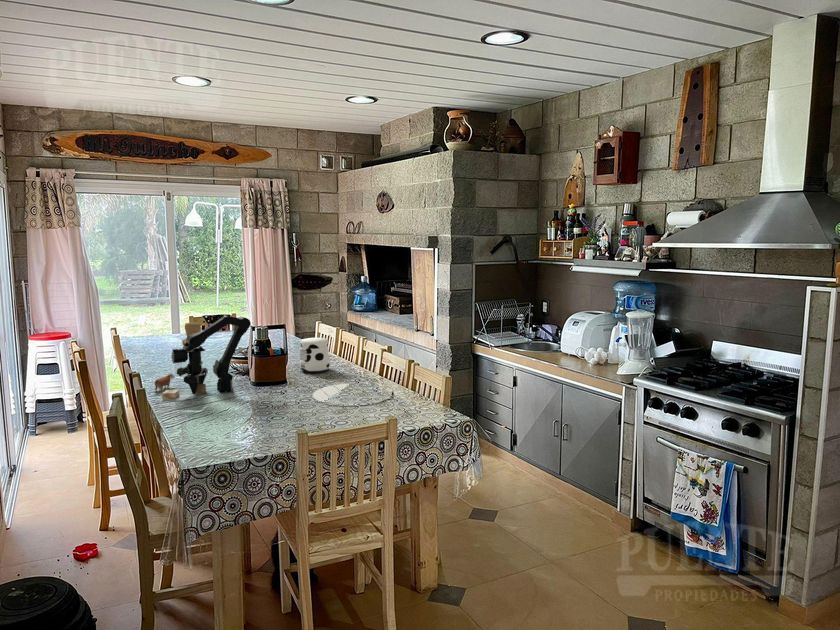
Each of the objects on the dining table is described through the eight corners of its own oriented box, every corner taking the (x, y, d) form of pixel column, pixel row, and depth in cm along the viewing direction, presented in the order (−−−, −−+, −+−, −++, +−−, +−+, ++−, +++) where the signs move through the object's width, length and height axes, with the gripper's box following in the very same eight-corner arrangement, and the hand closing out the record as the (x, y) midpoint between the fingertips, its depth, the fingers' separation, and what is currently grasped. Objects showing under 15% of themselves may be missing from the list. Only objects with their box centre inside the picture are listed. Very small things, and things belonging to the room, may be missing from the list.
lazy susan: (377, 381, 324) (377, 375, 324) (407, 400, 289) (407, 393, 289) (303, 390, 307) (303, 384, 307) (325, 411, 272) (325, 404, 272)
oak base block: (179, 395, 294) (179, 389, 293) (175, 399, 288) (174, 393, 287) (166, 396, 293) (166, 390, 293) (162, 399, 287) (162, 393, 287)
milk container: (333, 367, 356) (332, 337, 353) (326, 374, 339) (325, 343, 336) (304, 367, 358) (303, 337, 355) (295, 374, 341) (294, 342, 338)
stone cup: (198, 340, 443) (197, 320, 440) (205, 342, 434) (204, 322, 432) (177, 343, 432) (176, 322, 430) (184, 345, 424) (183, 324, 422)
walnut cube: (206, 393, 302) (205, 383, 302) (206, 395, 298) (205, 385, 297) (195, 394, 301) (194, 384, 300) (195, 396, 296) (194, 386, 295)
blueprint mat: (191, 396, 296) (191, 394, 296) (184, 402, 286) (184, 400, 286) (166, 396, 295) (166, 394, 295) (158, 402, 286) (158, 400, 285)
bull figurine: (177, 387, 313) (176, 372, 312) (159, 394, 300) (158, 378, 299) (170, 386, 314) (169, 371, 313) (152, 393, 301) (151, 377, 300)
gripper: (184, 357, 304) (186, 387, 307) (171, 365, 286) (173, 397, 288) (207, 356, 305) (208, 386, 307) (195, 365, 287) (197, 397, 289)
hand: (196, 391), depth 298 cm, fingers open, 9 cm apart
